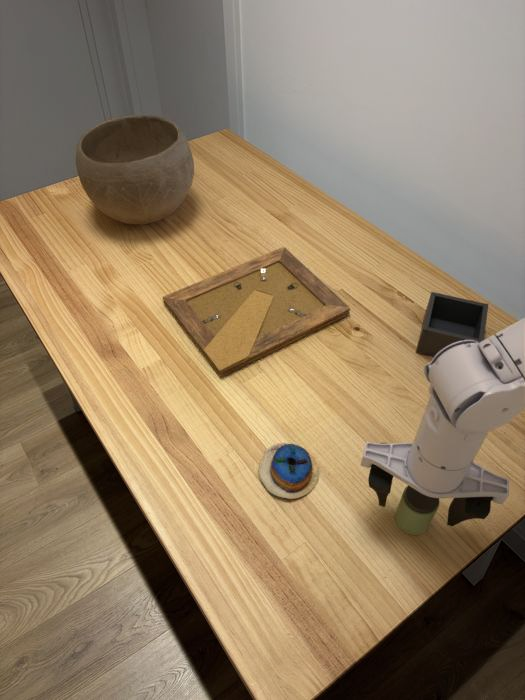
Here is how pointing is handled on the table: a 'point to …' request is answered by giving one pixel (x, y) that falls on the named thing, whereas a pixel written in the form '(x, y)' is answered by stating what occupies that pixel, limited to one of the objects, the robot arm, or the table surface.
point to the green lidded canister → (415, 511)
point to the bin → (450, 323)
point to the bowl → (135, 167)
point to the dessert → (288, 471)
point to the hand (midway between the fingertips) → (416, 508)
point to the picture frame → (254, 309)
